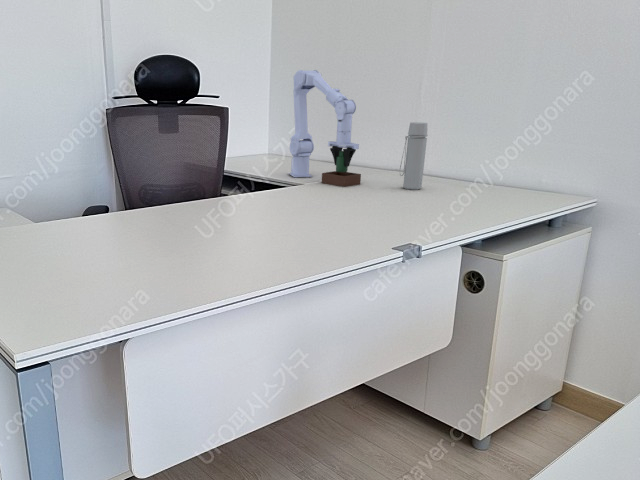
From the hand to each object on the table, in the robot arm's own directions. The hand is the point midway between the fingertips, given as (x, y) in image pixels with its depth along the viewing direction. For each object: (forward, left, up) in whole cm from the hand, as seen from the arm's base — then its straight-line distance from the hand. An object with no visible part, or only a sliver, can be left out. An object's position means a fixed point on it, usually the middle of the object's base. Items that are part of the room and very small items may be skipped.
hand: (341, 165), depth 243 cm
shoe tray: (0, 0, -7) cm, 7 cm away
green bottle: (0, 0, -2) cm, 2 cm away
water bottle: (+16, +23, -7) cm, 29 cm away
